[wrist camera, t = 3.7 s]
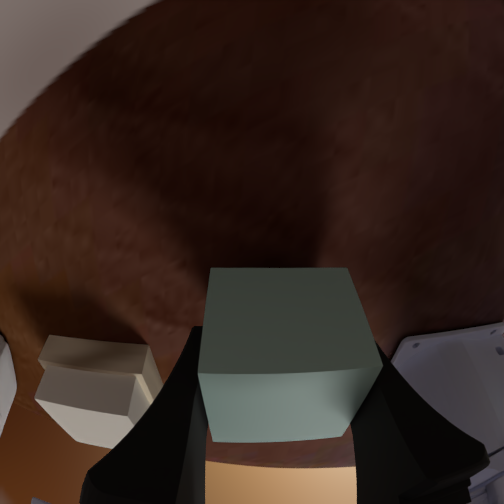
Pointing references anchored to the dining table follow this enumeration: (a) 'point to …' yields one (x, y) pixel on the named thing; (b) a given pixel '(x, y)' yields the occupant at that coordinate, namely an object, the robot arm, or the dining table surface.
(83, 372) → the cream slab
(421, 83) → the dining table surface
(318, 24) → the dining table surface
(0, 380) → the photo printer
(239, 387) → the sage cube
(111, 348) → the beige flat block
